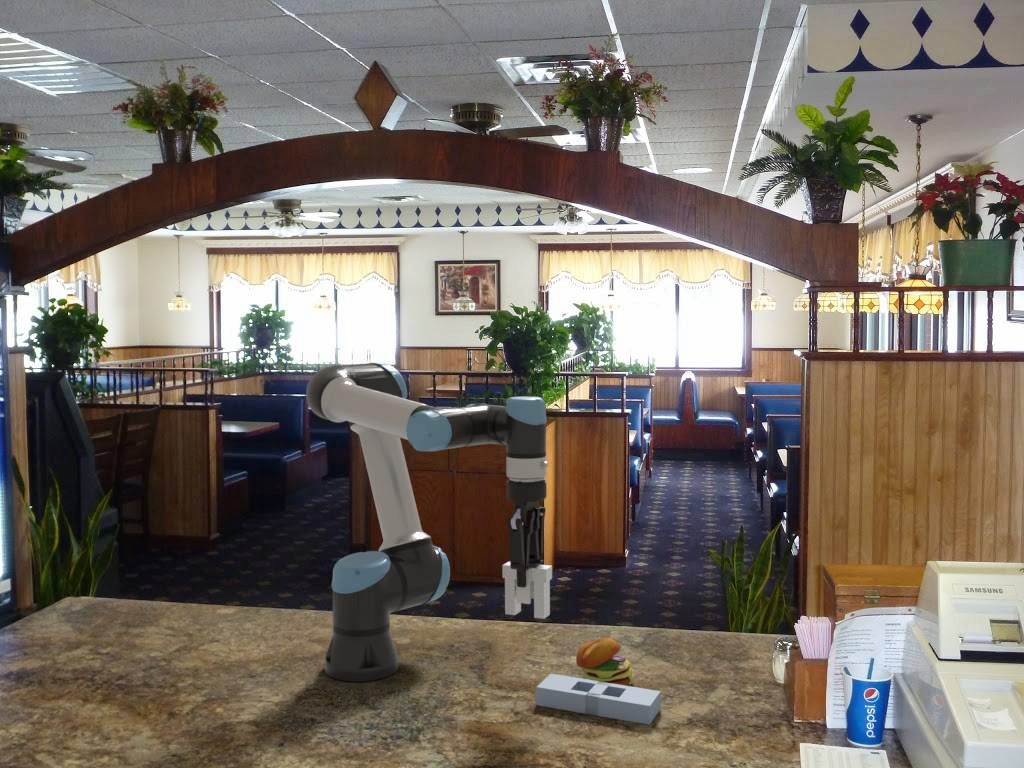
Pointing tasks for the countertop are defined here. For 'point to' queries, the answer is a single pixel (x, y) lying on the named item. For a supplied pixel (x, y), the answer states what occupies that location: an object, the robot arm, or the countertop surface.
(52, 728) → the countertop surface
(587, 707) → the rail
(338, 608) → the robot arm
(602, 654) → the cheeseburger
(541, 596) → the clip
